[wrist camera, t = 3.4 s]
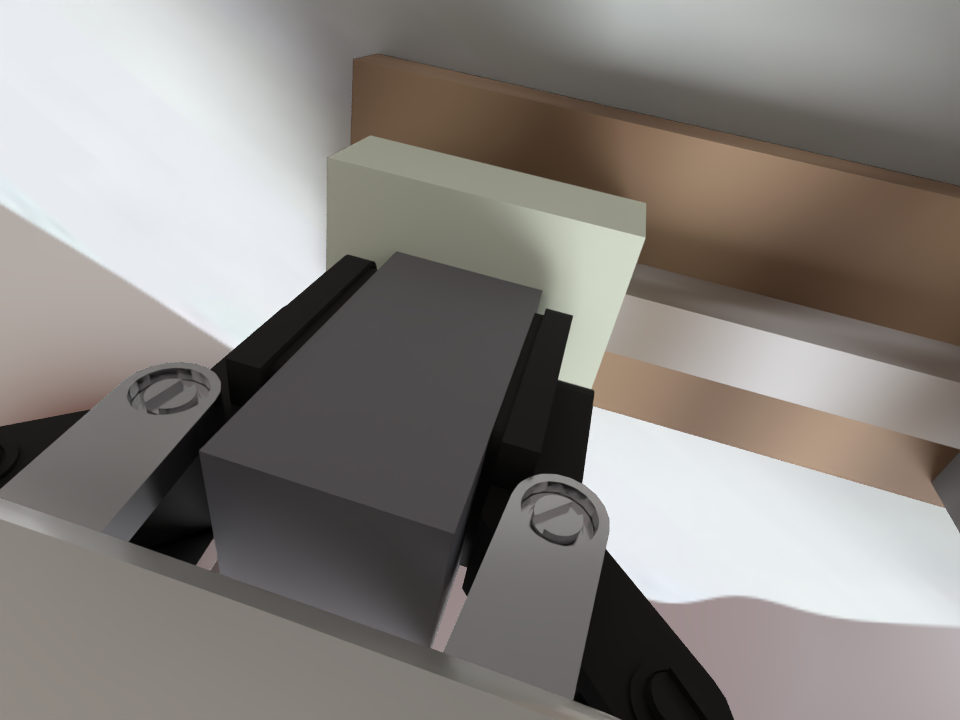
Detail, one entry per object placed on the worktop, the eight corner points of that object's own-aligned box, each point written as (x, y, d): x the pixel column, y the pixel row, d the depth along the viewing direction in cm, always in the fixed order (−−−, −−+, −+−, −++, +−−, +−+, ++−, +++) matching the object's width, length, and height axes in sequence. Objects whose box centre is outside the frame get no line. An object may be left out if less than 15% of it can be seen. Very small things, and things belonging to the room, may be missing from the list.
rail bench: (1452, 298, 12) (2701, 771, 5) (1139, 532, 17) (1524, 956, 9) (378, 53, 15) (109, 111, 7) (364, 312, 19) (189, 505, 12)
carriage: (646, 177, 13) (641, 479, 5) (578, 379, 16) (508, 754, 8) (403, 118, 14) (44, 299, 6) (387, 324, 17) (149, 622, 9)
